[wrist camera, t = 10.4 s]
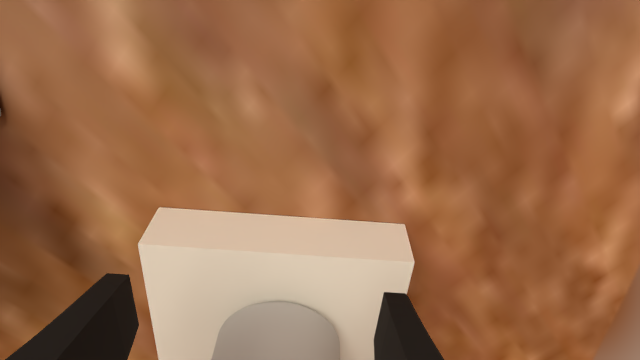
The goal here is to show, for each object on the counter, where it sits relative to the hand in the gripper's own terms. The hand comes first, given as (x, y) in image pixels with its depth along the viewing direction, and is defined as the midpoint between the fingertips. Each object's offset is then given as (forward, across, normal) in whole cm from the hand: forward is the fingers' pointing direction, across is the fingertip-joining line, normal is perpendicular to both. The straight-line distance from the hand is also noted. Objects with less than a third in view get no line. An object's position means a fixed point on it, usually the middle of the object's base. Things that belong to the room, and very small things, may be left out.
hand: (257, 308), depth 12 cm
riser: (+10, 0, +10) cm, 14 cm away
